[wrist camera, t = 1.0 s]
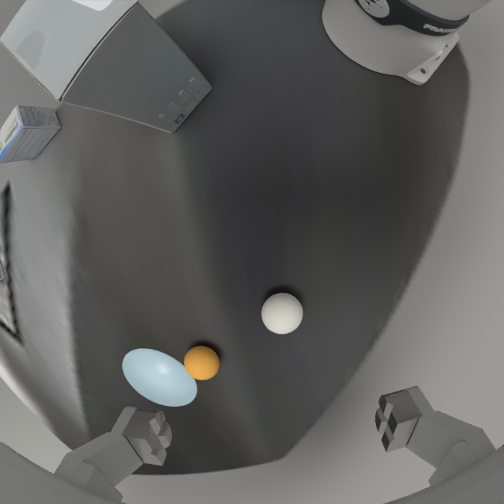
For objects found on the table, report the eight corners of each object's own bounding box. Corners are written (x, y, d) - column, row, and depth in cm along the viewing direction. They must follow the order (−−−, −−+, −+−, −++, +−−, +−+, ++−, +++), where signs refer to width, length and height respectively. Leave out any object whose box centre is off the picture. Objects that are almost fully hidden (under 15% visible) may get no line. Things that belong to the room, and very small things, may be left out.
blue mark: (152, 334, 38) (151, 335, 38) (214, 391, 41) (213, 392, 41) (110, 365, 42) (110, 366, 42) (164, 412, 44) (164, 413, 44)
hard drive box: (215, 87, 27) (141, 1, 8) (173, 135, 29) (56, 110, 10) (136, 35, 25) (46, -27, 6) (101, 78, 27) (-6, 43, 8)
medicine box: (55, 108, 29) (16, 103, 20) (62, 128, 30) (22, 126, 21) (29, 140, 30) (-8, 141, 22) (36, 160, 31) (-3, 164, 23)
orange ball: (205, 333, 37) (197, 355, 32) (228, 356, 38) (223, 378, 33) (182, 348, 38) (172, 369, 34) (205, 369, 39) (198, 391, 35)
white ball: (285, 278, 34) (287, 296, 29) (308, 306, 35) (313, 327, 30) (254, 300, 35) (251, 321, 30) (278, 326, 36) (278, 348, 31)
